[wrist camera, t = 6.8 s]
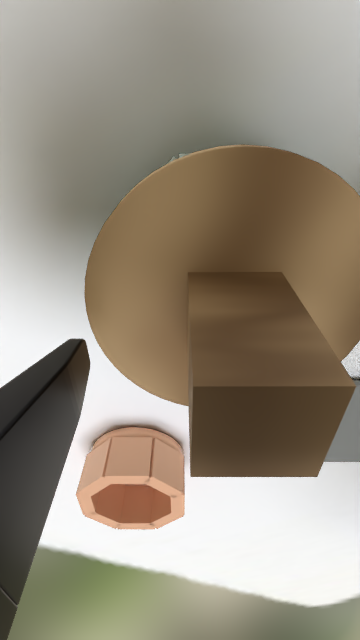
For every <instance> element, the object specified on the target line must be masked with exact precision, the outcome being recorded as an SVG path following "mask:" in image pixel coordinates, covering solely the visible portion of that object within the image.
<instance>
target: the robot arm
mask: <svg viewBox="0 0 360 640" xmlns="http://www.w3.org/2000/svg"><path fill="white" fill-rule="evenodd" d="M89 371H90V359H89V354H88V349H87V345H86V342H85V340H84V339H69V340H67V341H66V342H65V343H63V344H62V345H60V346H59V347H58V348H56V349H55V350H53V351H52V352H51V353H49V354H48V355H46V356H45V357H44V358H42V359H41V360H39V361H38V362H36V363H35V364H34V365H32V366H31V367H29V368H28V369H27V370H25V371H24V372H22V373H21V374H20V375H18V376H17V377H15V378H14V379H13V380H11V381H10V382H8V383H7V384H6V385H4V386H3V387H1V388H0V640H7V638H8V635H9V632H10V629H11V626H12V623H13V619H14V617H15V614H16V611H17V608H18V607H17V605H18V604H19V601H20V598H21V595H22V592H23V589H24V586H25V583H26V580H27V577H28V574H29V571H30V567H31V565H32V562H33V559H34V556H35V553H36V549H37V546H38V543H39V540H40V537H41V534H42V531H43V528H44V525H45V522H46V519H47V516H48V513H49V510H50V507H51V504H52V501H53V498H54V495H55V492H56V489H57V486H58V483H59V479H60V476H61V473H62V470H63V467H64V464H65V461H66V458H67V455H68V452H69V449H70V446H71V443H72V440H73V437H74V434H75V431H76V428H77V425H78V422H79V418H80V415H81V410H82V406H83V401H84V396H85V391H86V386H87V381H88V376H89Z"/></svg>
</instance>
